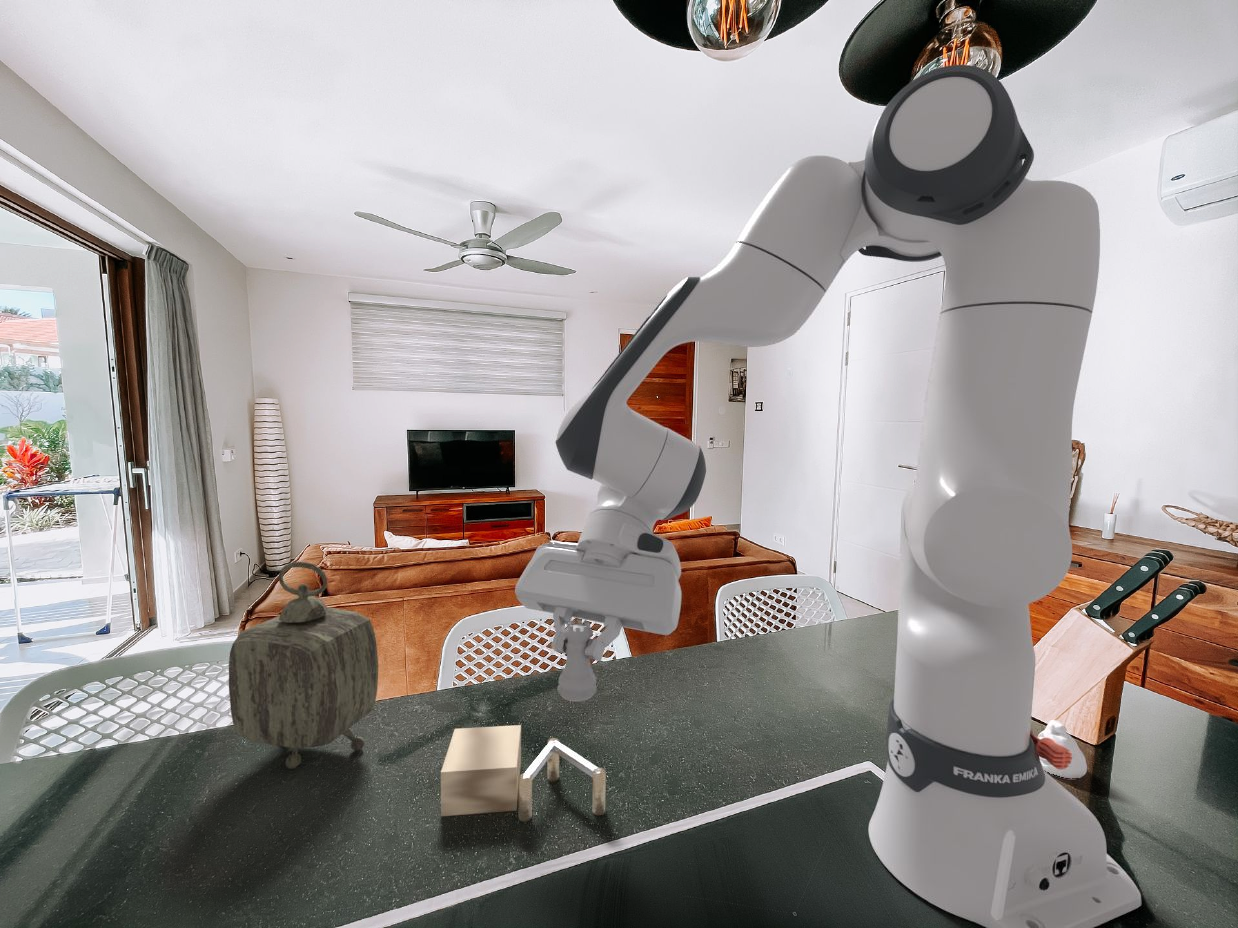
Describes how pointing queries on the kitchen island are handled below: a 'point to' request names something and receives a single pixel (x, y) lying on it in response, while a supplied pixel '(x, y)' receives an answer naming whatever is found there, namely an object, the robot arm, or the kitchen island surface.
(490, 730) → the pedestal
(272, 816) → the kitchen island surface
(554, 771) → the railing
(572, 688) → the rook chess piece
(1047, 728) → the garlic bulb
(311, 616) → the tabletop clock
